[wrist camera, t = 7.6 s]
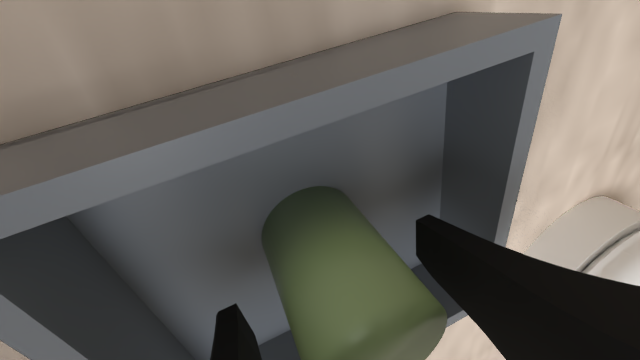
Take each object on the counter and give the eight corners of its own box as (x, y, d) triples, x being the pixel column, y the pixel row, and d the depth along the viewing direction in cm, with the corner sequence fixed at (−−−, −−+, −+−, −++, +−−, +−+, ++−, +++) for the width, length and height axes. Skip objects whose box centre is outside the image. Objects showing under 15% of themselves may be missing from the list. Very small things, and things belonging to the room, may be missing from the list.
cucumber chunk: (278, 280, 14) (328, 424, 9) (246, 211, 11) (292, 359, 7) (359, 242, 15) (444, 354, 10) (346, 170, 12) (451, 274, 8)
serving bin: (197, 374, 16) (200, 467, 13) (-18, 149, 8) (-151, 245, 5) (440, 252, 19) (492, 301, 16) (456, 12, 11) (562, 13, 8)
